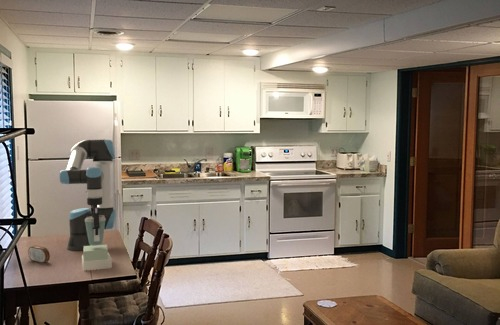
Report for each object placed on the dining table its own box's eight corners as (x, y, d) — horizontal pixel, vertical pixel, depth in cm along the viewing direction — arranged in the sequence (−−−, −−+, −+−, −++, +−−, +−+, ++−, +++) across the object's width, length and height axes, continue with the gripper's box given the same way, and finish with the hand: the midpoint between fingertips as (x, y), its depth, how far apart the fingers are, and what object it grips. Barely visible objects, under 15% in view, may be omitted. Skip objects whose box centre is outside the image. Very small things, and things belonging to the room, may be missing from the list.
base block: (81, 264, 274) (81, 255, 274) (108, 261, 279) (108, 252, 279) (83, 271, 261) (83, 261, 261) (111, 268, 266) (111, 259, 266)
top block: (83, 255, 274) (83, 246, 273) (107, 253, 277) (107, 244, 277) (83, 261, 262) (83, 251, 262) (107, 259, 266) (107, 249, 265)
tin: (50, 263, 276) (50, 247, 275) (45, 264, 273) (45, 248, 272) (32, 259, 283) (31, 244, 283) (27, 260, 281) (26, 245, 280)
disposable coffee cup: (86, 247, 262) (85, 218, 261) (84, 243, 272) (83, 215, 271) (107, 245, 266) (106, 217, 265) (105, 241, 276) (104, 213, 275)
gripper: (85, 194, 277) (86, 234, 278) (88, 200, 255) (90, 244, 257) (99, 193, 279) (100, 233, 281) (104, 199, 258) (105, 243, 260)
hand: (95, 238), depth 269 cm, fingers closed on disposable coffee cup, 11 cm apart
